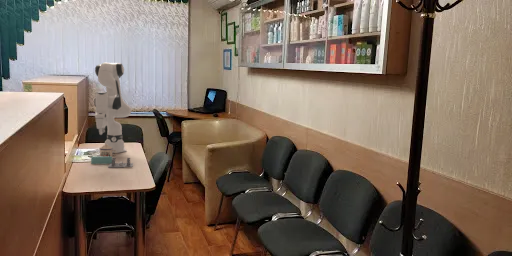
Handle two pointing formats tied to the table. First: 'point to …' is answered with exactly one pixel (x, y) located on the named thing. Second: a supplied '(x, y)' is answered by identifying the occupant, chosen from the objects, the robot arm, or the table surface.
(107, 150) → the teacup with lid
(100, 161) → the frame bar
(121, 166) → the display stand
